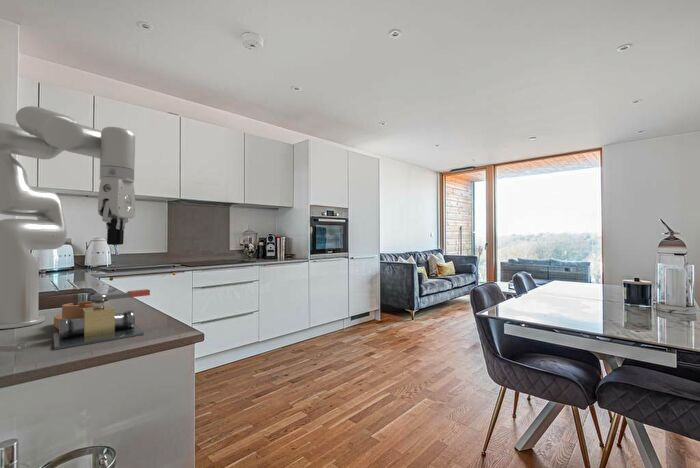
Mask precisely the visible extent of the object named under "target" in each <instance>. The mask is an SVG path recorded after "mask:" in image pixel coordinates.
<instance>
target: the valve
mask: <svg viewBox="0 0 700 468" xmlns="http://www.w3.org/2000/svg"><path fill="white" fill-rule="evenodd" d="M144 332H145V331H143V330H142V329H141V328H140V327H139V326H138V325H137V324H136V315H135V312H134V310H133V309H129V310H125V311H124V312H117V313H116V308H115V307H114V306H113V305H112V304H109V305H105V301H98V302H93V307H89V308H83V318H77V319H69V318H64V319H60V321H59V329H58V332H53V344H54V345H53V347H54V351H55V350H56V351H57V350H62V349H67V348H73V347H80V346H85V345H92V344H97V343H98V344H99V343H104V342H108V341H114V340H119V339H120V340H121V339H127V338H133V337H138V336H139V337H140V336H144V335H145V334H144Z"/></svg>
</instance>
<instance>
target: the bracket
mask: <svg viewBox="0 0 700 468" xmlns="http://www.w3.org/2000/svg"><path fill="white" fill-rule="evenodd" d="M89 307H93V302H91V301H90V300H89V301H87V300H86V301H78V302H77V304H75V305H74V302H70V303H65V304H62V305H61V313H59V314H57V315H53V327H54V328H56V329H58V330H59V321H60V319H64V318H69V319H77V318H83V308H89Z"/></svg>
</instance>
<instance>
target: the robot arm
mask: <svg viewBox="0 0 700 468" xmlns="http://www.w3.org/2000/svg"><path fill="white" fill-rule="evenodd" d="M15 120H16V123H17V125H18V126H16V125H15V124H14V125H13V124H9V123H3V122H0V215H3V216H4V215H5V216H12V217H28V218H29V217H31V218H34V217H35V218H36V219H31V218H30V219H28V218H4V219H1V220H0V330H4V329H5V330H6V329H15V328H21V327H28V326H32V325H37V324H40V323H42V322H44V321H45V320H46V317H45V315H39V291H40V290H39V286H40V285H39V282H40V281H39V279H40V278H39V276H40V274H39V273H40V269H39V267H40V265H39V262H38V260H37V258H35V256H34V255H33V254H32V253H31V251H39V250H41V251H43V250H44V251H46V250H47V251H48V250H55V249H59V248H61V247H63V246H64V245H65V243H66V241H67V228H66V222H65V215H64V211H63V205H62V201H61V199H60V197H59V195H58V194H57V193H56V192H55V191H54V190H51V189H49V188H44V187H36V186H32V185H30V183H29V180H28V174H27V171H26V169H25V168H24V167H23V165H22V164H21V163H20V162H19V161H18V160H17V159H16V158H15V157H13V155H18V156H22V157H28V158H33V159H39V160H50V159H53V158H56V157H57V156H58V155H60V154H61V153H62V152H64V151H65V152H69V153H72V154H78V155H83V156H86V157H91V158H96V159H99V180H100V183H99V186H98V187H99V189H98V197H97V213H98V215H99V216H100V217H101V220H102V222H104V223H105V224H106V229H107V233H106V234H107V236H106V244H107V245H108V246H109V245H113V246H114V245H118V246H119V245H123V244H124V237H125V234H124V233H125V228H126V224H127V223H129V219H134V218H135V217H136V195H135V186H134V183H135V163H136V159H135V158H136V156H135V155H136V136H135V134H134V132H132V131H131V130H129V129H126V128H122V127H116V126H105V127H104V128H102V130H100V129H97V128H94V127H90V126H87V125H83V124H80V123H78V121H77V120H75V119H74V118H73V117H71V116H69V115H65V114H63V113H59V112H55V111H52V110H49V109H47V108H44V107H39V106H33V105H31V106H23V107H21V108H20V109H18V110H17V112H16V113H15ZM12 154H13V155H12Z"/></svg>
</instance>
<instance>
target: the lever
mask: <svg viewBox="0 0 700 468" xmlns="http://www.w3.org/2000/svg"><path fill="white" fill-rule="evenodd" d="M89 296H90V299H89V301H91V302H98V301H104V302H105V301H111V300H118V299H119V300H120V299H126V298H127V299H130V298H137V297H145V296H146V297H147V296H151V290H150V289H148V288H147V289H135V290H128V291H125V292H119V293H118V292H117V293H108V294H107V293H97V294H91V295H89Z"/></svg>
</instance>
